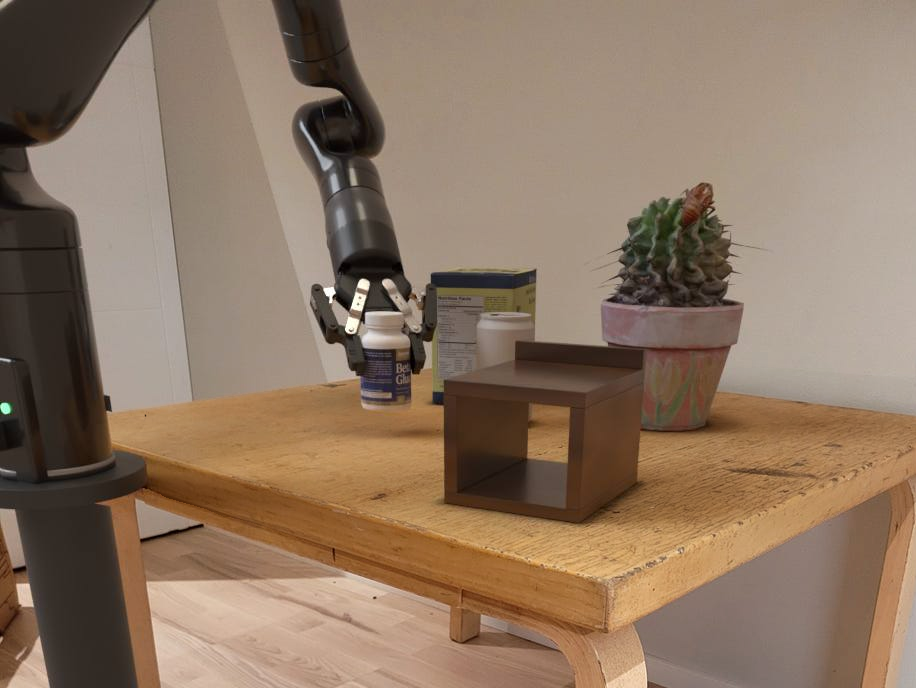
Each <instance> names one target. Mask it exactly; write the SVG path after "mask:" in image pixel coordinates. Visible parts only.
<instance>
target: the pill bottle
mask: <svg viewBox="0 0 916 688" xmlns="http://www.w3.org/2000/svg"><path fill="white" fill-rule="evenodd" d="M364 325H365V328H367V332H366V333H364V334H363V335H361V336H360V340H361V345H362V350H363V355H364V360H365V370H364V375H363V376H359V377H360V402H361V407H362V408H363V409H364V410H367V411H370V412H383V413H384V412H388V413H389V412H401V411H402V412H403V411H406V410H408V409H410V408H411V406H412V371H411V346H410V339H409V338H408V336H406V335H405V334H403V333H402V328H403V327H404V326H403V325H404V315H403V313H401V312H389V311H374V312H366V313H365V324H364Z"/></svg>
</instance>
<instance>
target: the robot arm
mask: <svg viewBox="0 0 916 688" xmlns="http://www.w3.org/2000/svg"><path fill="white" fill-rule="evenodd" d="M270 1H271V5H272V8H273V13H274V15H275V19H276V22H277V26H278V31H279V34H280V37H281V40H282V45H283V48H284V51H285V55H286V58H287V62H288V65H289V69H290V72H291V74H292V76H293V78H294V79H295V81H296V82H297V83H299V84H300V85H302V86H305V87H309V88H319V89H320V88H322V89H323V88H324V89H332V90H336V91H338V92H340V95H336V96H331V97H327V98H321V99H320V100H319V99H317V100H313V101H312V100H311V101H308V102H306V103H303V104H301V105H300V106H299V107H298V108H297V109H296V110H295V112H294V115H293V117H292V120H291V135H292V139H293V142H294V146H295V148H296V150H297V152H298V154H299V156H300V158H301V160H302V161H303V163H304V164H305V166H306V168H307V169H308V170H309V172H310V174H311V175H312V177H313V179H314V181H315V182H316V185H317V187H318V188H317V189H318V191H319V195H320V199H321V205H322V210H323V214H324V229H325V237H326V241H325V242H326V246H327V250H328V252H329V257H330V260H331V262H330V263H331V267H332V272H333V277H334V284H333V286H330V287H323V286H322V285H321V284H319V283H314V284H312V285H311V288H310V297H309V306H310V308H311V310H312V313H313V315H314V317H315V320H316V322H317V325H318V327H319V329H320V331H321V333H322V336H323V338H324V341H325V343H327V344H328V345H335V344H340V345H341V346H343V348H344V351H345V356H346V361H347V366H348V369H349V370H350V371H351V372H355V377H360V376H363V375H364V370H365V360H364V355H363V350H362V345H361V340H360V338H361V336H360V334H359V332H360V330H361V326H362V325H366V324H365V313H366V312H374V311H389V312H401V313H403V315H404V325H403V326H404V327H403V328H402V333H403V334H405V335H406V336H408V338H409V339H410V346H411V375H420V374H421V371H422V370H423V369H424V367H425V364H426V361H427V360H426V359H427V353H426V349H425V345H424V342H425V343H432V340H433V336H434V331H435V328H436V326H437V288H436V286H435V285H434V284H432V283H431V282H430V283H427V284H426V285H425V287H418V286H412V284H411V282H410V281H409V280H408V279H407V277H406V275H405V271H404V266H403V262H402V261H403V260H402V257H401V253H400V248H399V243H398V239H397V235H396V230H395V227H394V221H393V219H392V216H391V212H390V210H389V208H388V205H387V201H386V197H385V193H384V188H383V184H382V180H381V176H380V173H379V169H378V168H377V166H376V165H375V163H374V162H373V161H372V159H374V158H376V157H378V156H379V155H380V154H381V153H382V151H383V148H384V147H385V144H386V136H387V134H386V125H385V121H384V118H383V116H382V114H381V111H380V109H379V106H378V105H377V103H376V101H375V99H374V97H373V95H372V94H371V92H370V90H369V88H368V86H367V85H366V82H365V80H364V78H363V76H362V74H361V71H360V70H359V66H358V64H357V61H356V58H355V56H354V52H353V48H352V45H351V40H350V36H349V31H348V25H347V23H346V22H347V21H346V17H345V14H344V13H345V12H344V8H343V4H342V0H270ZM160 2H161V0H0V478H3V479H8V480H14V481H19V482H25V483H30V484H41V483H44V482H49V481H58V480H68V479H75V478H81V477H86V476H91V475H94V474H98V473H101V472H104V471H106V470H109V469H111V468H112V467H113V466H115V464H116V462H115V455H114V452H113V451H112V450H113V446H112V439H111V438H112V437H111V430H110V425H109V418H108V412H110V413H113V407H112V402H111V395H107V394H105V391H104V384H103V378H102V377H103V376H102V370H101V365H100V364H101V363H100V359H99V358H100V357H99V351H98V345H97V343H98V342H97V338H96V332H95V324H94V318H93V311H92V303H91V299H90V298H91V297H90V291H89V284H88V283H89V281H88V277H87V276H88V275H87V269H86V264H85V263H86V262H85V257H84V250H83V249H84V248H82V237H81V232H80V226H79V221H78V217H77V214H76V213H75V211H74V210H73V209H72V208H71V207H70V206H68V205H67V204H65V203H64V202H62V201H59V200H58V199H56V198H54V197H53V196H51V195H50V194H49V193H48V192H47V191H45V189H44V188H43V187H42V186H41V185H40V183H39V182H38V181H37V179H36V178H35V175H34V173H33V171H32V167H31V163H30V159H29V155H28V151H27V149H31V148H38V147H43V146H47V145H51V144H52V143H54V142H56V141H59V139H61V138H63V137H64V136H65V135H67V134H68V133H69V132H70V131H71V130H72V128H73V127H74V126H75V125H76V123H77V122H78V121H79V119H80V118H81V116H82V115H83V113H84V112H85V111H86V109H87V107H88V106H89V104H90V102H91V100H92V99H93V98H94V95H95V94H96V93H97V90H98V89H99V87H100V85H101V83H102V82H103V80H104V79H105V77H106V75H107V73H108V72H109V70H110V69H111V67H112V65H113V64H114V62H115V60H116V58H117V57H118V55H119V54H120V52H121V50H122V49H123V47H124V46H125V44H126V43H127V42H128V40H129V39H130V38H131V36H132V35H133V34H134V33H135V32H136V31H137V30H138V28H139V27H140V26H141V25H142V24H143V23H144V21H146V19H147V18H148V17H149V16H150V15H151V13H152V12H153V10H155V8H156V6H158V5H159V3H160ZM410 299H411V300H413V301H414V302H415V306H416V308H417V310H418V311H421V323H419V321H418V320H417V319H416V317H415V316H414V314H413V310H412V307H410V305H409V304H408V303H409V301H410ZM334 301H335V302H336V303H337V304H338V305H340V306H341V307H342V308H343V309H344V310H345V311H346V312H347V313H349V314H348V318H347V321H346V325H342V324H339V322H338V321H339V320H338V319H337V316H336V315H335V312H334V310H333V303H334Z"/></svg>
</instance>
